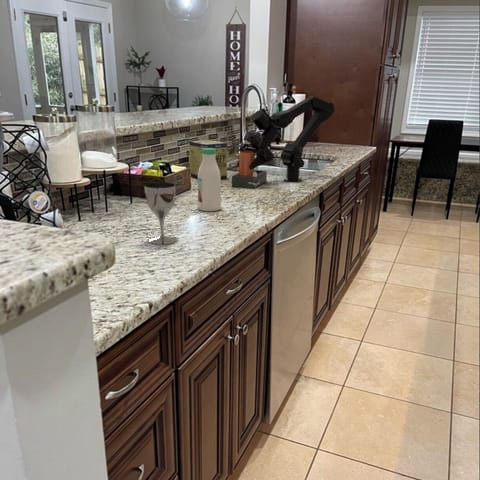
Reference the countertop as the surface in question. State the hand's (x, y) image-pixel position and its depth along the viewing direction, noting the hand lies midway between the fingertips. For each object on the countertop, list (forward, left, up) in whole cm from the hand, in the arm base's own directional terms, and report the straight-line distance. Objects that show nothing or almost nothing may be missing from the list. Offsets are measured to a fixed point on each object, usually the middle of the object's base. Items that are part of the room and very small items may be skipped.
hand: (243, 167), depth 207 cm
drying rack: (-5, +1, -8) cm, 9 cm away
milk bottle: (+44, +4, -8) cm, 44 cm away
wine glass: (+83, +7, -8) cm, 83 cm away
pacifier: (0, +4, -4) cm, 6 cm away
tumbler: (-1, +1, -7) cm, 7 cm away
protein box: (-12, -21, -8) cm, 26 cm away
